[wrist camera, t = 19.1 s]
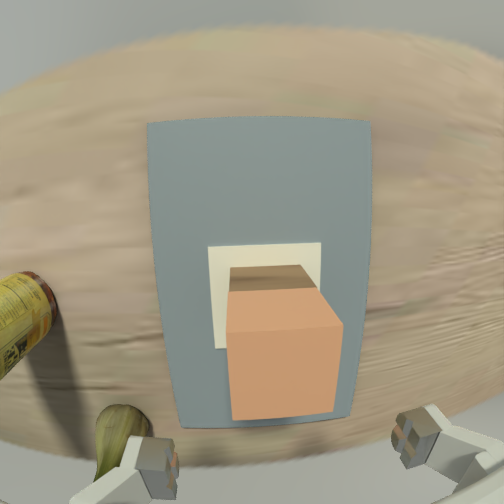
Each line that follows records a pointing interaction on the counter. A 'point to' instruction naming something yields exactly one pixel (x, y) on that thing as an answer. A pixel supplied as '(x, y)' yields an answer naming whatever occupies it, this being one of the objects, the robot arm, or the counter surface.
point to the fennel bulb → (116, 435)
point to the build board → (255, 238)
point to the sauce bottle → (23, 316)
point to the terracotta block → (282, 353)
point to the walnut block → (269, 278)
